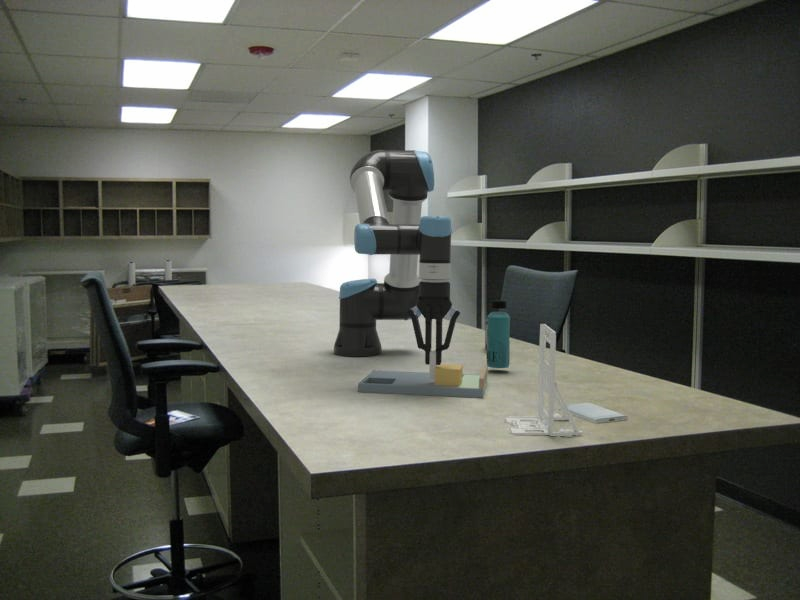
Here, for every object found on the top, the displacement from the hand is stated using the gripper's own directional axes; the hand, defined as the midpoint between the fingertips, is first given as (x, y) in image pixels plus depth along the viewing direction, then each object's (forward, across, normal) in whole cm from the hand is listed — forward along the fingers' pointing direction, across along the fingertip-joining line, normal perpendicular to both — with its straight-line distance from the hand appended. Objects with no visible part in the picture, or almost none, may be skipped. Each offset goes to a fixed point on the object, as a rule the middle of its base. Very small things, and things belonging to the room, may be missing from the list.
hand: (433, 377), depth 181 cm
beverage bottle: (+4, +14, +30) cm, 33 cm away
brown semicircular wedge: (+3, +12, +65) cm, 66 cm away
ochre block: (+1, +4, +1) cm, 4 cm away
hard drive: (+4, +36, -16) cm, 40 cm away
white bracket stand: (+4, +26, -28) cm, 38 cm away
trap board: (+3, -3, +5) cm, 6 cm away
